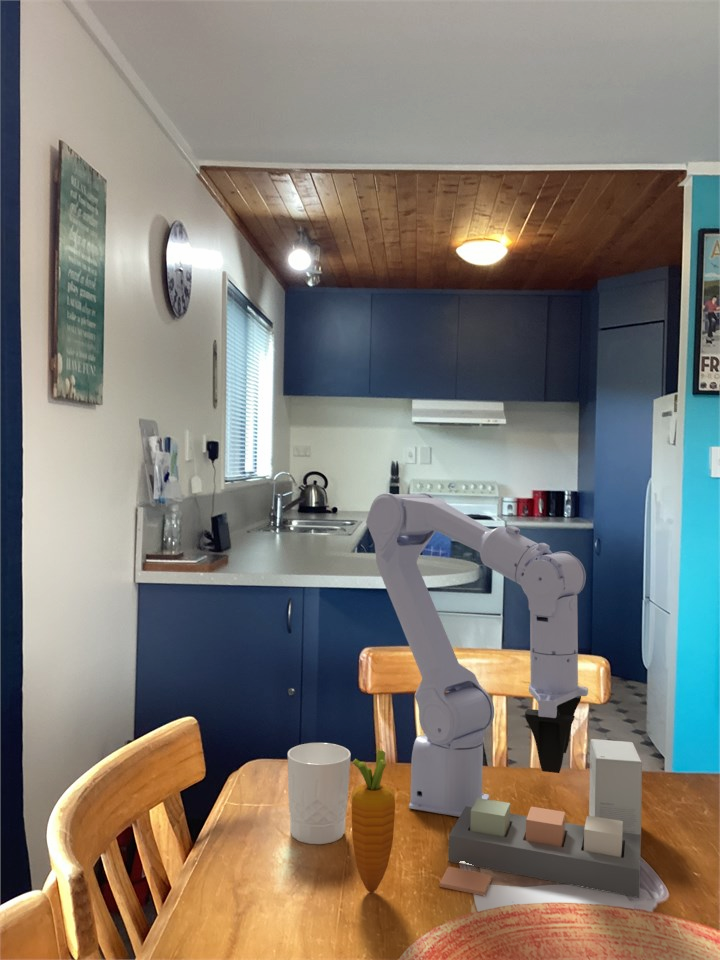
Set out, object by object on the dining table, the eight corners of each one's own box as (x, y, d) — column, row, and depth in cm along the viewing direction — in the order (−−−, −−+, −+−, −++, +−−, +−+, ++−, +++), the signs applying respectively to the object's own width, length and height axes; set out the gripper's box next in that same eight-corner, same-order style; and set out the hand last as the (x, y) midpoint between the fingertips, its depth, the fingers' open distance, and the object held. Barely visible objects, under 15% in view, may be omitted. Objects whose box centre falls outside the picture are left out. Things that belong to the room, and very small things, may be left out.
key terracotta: (525, 849, 92) (526, 819, 92) (530, 835, 96) (531, 806, 96) (560, 856, 91) (561, 825, 91) (564, 841, 94) (565, 811, 94)
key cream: (583, 860, 90) (584, 829, 90) (586, 845, 94) (587, 815, 94) (620, 866, 88) (621, 835, 88) (622, 851, 92) (622, 821, 92)
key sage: (470, 839, 94) (470, 810, 94) (477, 826, 98) (477, 797, 98) (503, 845, 93) (504, 816, 93) (509, 831, 97) (510, 803, 97)
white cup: (359, 827, 101) (360, 748, 101) (331, 852, 94) (333, 768, 94) (305, 814, 105) (306, 738, 105) (274, 838, 98) (275, 757, 98)
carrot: (359, 908, 82) (362, 763, 82) (341, 885, 87) (343, 748, 87) (402, 899, 84) (405, 757, 84) (382, 877, 89) (385, 743, 89)
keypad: (448, 861, 93) (448, 835, 93) (465, 829, 101) (465, 806, 101) (639, 897, 85) (639, 869, 85) (640, 860, 94) (640, 835, 94)
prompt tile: (439, 886, 87) (439, 882, 87) (448, 869, 91) (448, 866, 91) (484, 895, 85) (485, 892, 85) (492, 878, 89) (492, 874, 89)
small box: (641, 848, 97) (643, 762, 97) (593, 843, 98) (595, 758, 98) (632, 820, 105) (634, 741, 105) (588, 816, 106) (590, 737, 106)
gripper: (582, 664, 90) (583, 785, 90) (591, 642, 104) (592, 747, 104) (520, 660, 93) (520, 777, 93) (536, 639, 106) (537, 741, 106)
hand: (554, 761), depth 98 cm, fingers open, 7 cm apart
